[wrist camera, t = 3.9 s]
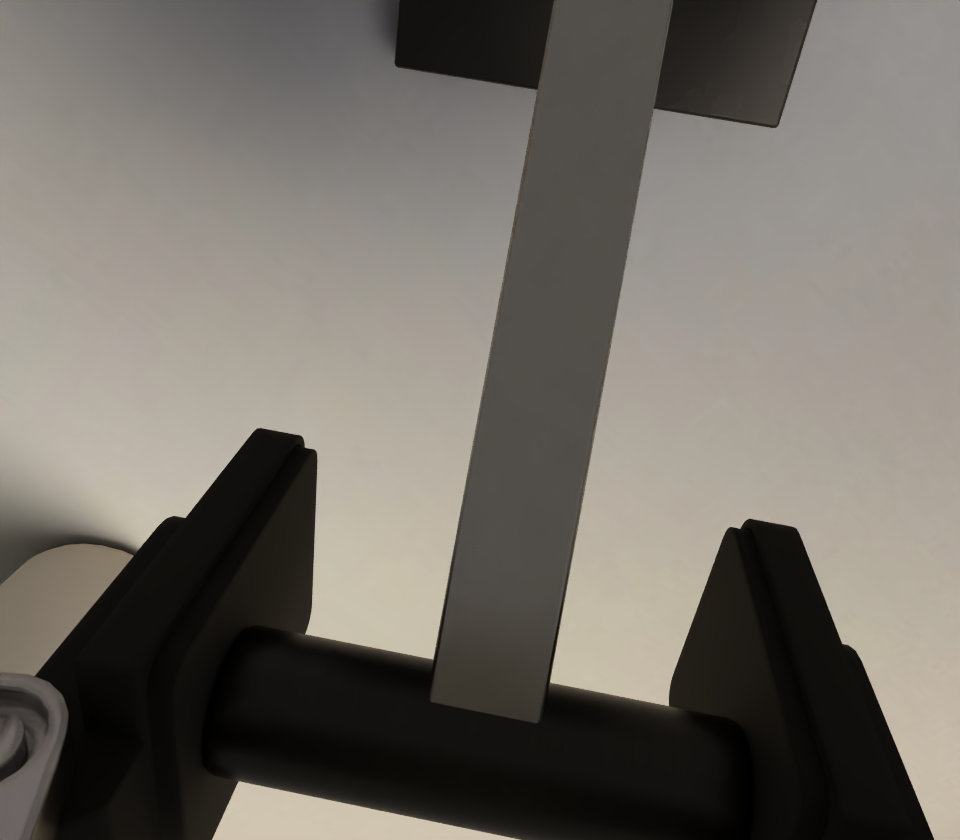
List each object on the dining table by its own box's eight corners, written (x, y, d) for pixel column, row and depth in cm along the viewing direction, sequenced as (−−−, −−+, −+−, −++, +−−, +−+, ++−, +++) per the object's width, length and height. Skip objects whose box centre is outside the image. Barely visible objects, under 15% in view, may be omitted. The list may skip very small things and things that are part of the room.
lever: (689, 811, 9) (755, 954, 6) (257, 723, 9) (162, 828, 7) (890, -324, 9) (1031, -607, 6) (462, -382, 9) (442, -676, 7)
